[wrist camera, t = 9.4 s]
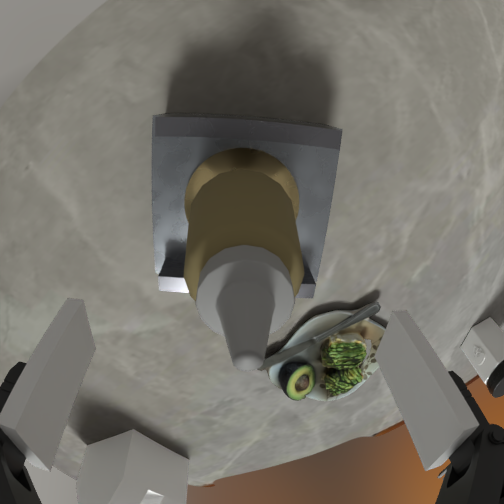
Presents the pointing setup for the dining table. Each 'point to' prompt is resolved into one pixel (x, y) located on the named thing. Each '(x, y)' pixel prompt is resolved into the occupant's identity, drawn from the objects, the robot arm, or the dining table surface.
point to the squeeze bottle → (243, 261)
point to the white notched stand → (132, 472)
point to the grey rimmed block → (232, 158)
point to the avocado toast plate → (327, 355)
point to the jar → (487, 354)
